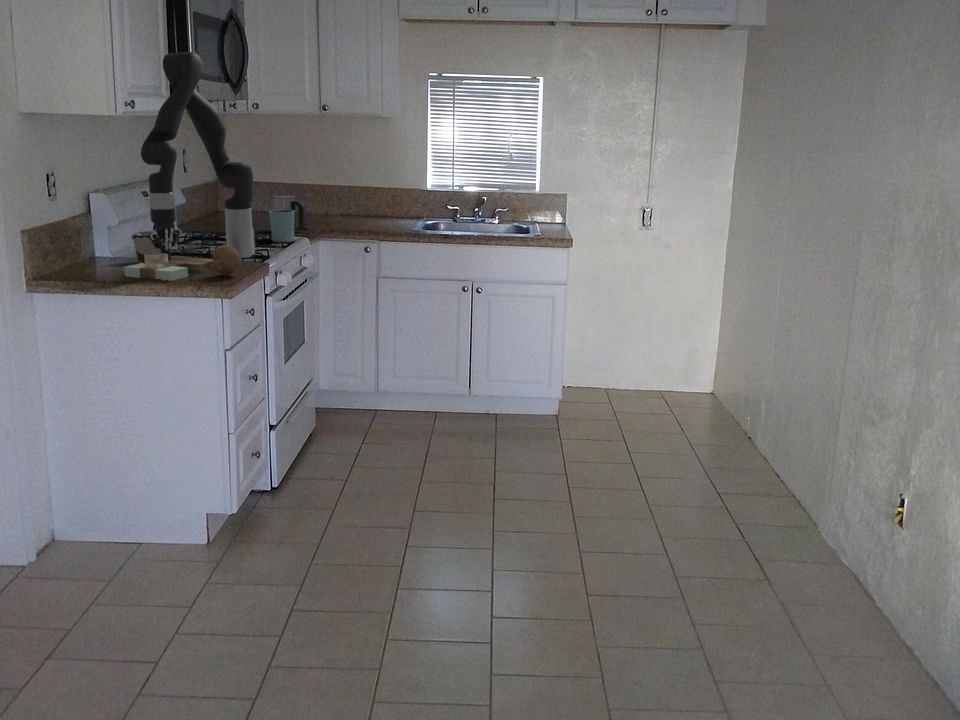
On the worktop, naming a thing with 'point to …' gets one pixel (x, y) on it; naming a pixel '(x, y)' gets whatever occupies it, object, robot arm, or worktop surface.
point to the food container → (143, 245)
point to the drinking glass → (282, 225)
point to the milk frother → (291, 208)
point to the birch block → (156, 260)
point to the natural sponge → (226, 260)
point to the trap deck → (172, 269)
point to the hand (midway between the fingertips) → (166, 261)
